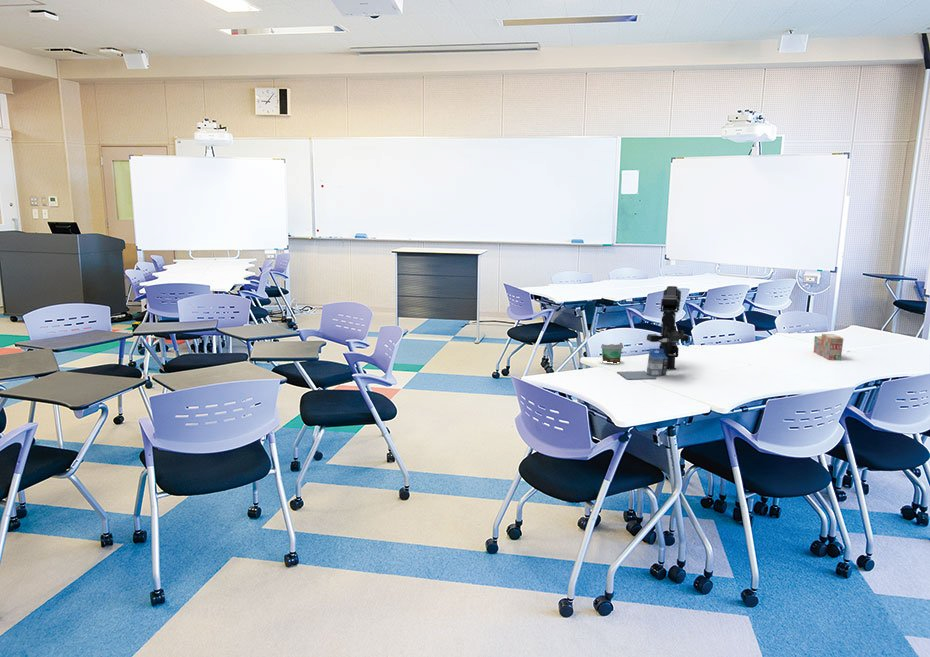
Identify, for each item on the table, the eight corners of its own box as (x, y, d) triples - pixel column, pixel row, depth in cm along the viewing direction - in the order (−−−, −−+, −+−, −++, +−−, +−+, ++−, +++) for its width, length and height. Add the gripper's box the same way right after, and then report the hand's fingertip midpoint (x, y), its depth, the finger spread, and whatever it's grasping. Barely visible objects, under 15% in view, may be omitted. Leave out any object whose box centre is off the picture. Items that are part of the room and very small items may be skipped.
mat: (644, 372, 313) (644, 371, 313) (656, 379, 299) (656, 378, 299) (616, 372, 311) (616, 371, 311) (627, 379, 298) (627, 378, 298)
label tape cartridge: (651, 376, 303) (654, 350, 301) (646, 374, 306) (649, 348, 304) (666, 375, 306) (669, 350, 304) (661, 373, 310) (664, 348, 308)
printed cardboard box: (813, 352, 362) (815, 330, 360) (824, 352, 361) (827, 331, 359) (828, 360, 341) (830, 337, 339) (841, 360, 341) (843, 337, 339)
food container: (607, 365, 326) (608, 346, 325) (600, 363, 332) (601, 344, 330) (627, 363, 331) (628, 344, 329) (620, 361, 337) (621, 342, 335)
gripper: (656, 326, 294) (654, 359, 296) (695, 325, 296) (693, 358, 298) (647, 322, 305) (645, 354, 307) (684, 321, 307) (682, 353, 309)
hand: (666, 355), depth 305 cm, fingers closed
